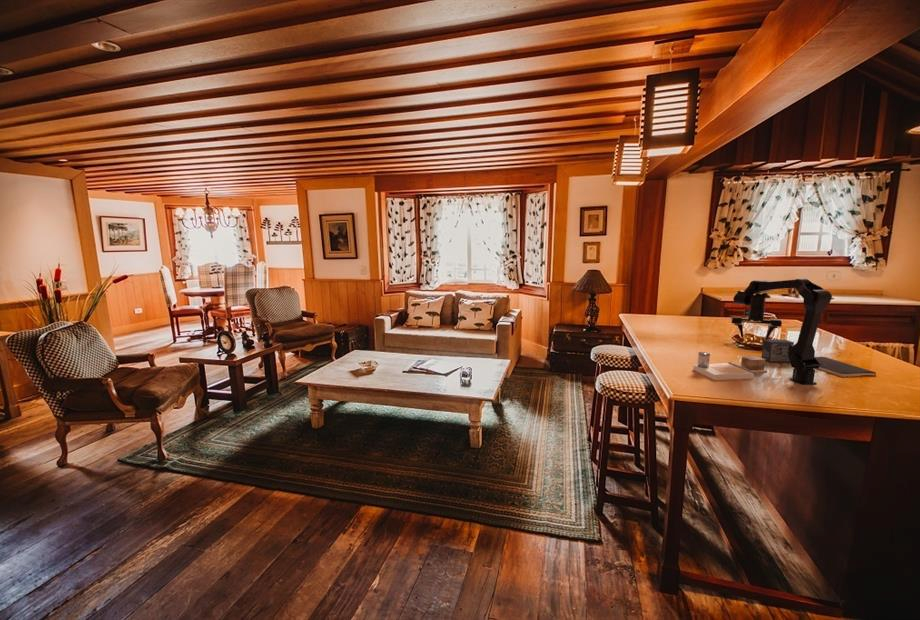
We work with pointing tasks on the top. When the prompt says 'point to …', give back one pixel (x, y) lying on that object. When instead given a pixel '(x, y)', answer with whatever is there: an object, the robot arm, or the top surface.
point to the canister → (703, 359)
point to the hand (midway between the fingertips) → (754, 338)
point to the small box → (776, 351)
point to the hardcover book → (841, 368)
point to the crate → (754, 364)
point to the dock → (725, 371)
